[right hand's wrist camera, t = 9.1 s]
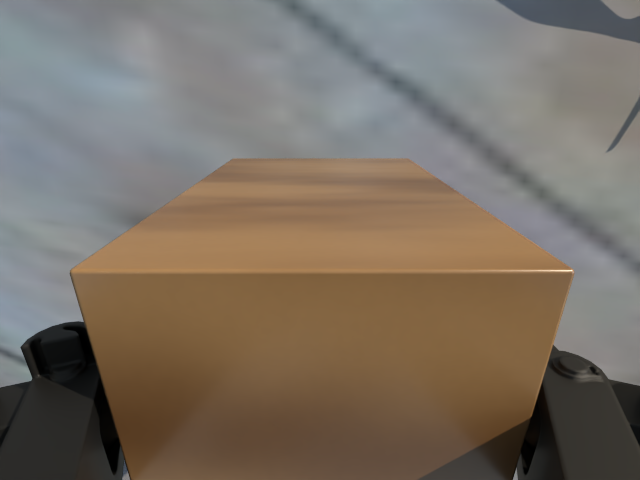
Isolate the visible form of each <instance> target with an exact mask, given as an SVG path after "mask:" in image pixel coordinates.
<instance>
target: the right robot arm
mask: <svg viewBox="0 0 640 480" xmlns="http://www.w3.org/2000/svg"><path fill="white" fill-rule="evenodd" d="M21 350H22V352H23V355H24V357H25V360H26V363H27V365H28V368H29V370H30V373H31V376H32V381H29V382H24V383H20V384H15V385H10V386H5V387H1V388H0V480H122V476H123V466H124V456H123V453H122V449H121V446H120V443H119V439H118V436H117V432H116V429H115V426H114V422H113V419H112V415H111V412H110V409H109V405H108V402H107V398H106V395H105V392H104V388H103V385H102V381H101V378H100V375H99V371H98V368H97V364H96V361H95V358H94V354H93V351H92V347H91V344H90V341H89V337H88V334H87V330H86V327H85V324H84V322H68V323H63V324H59V325H55V326H52V327H50V328H47V329H45V330H43V331H40V332H38V333H37V334H35V335H34V336H32V337H31V338H29V339H28V340H27V341H26V342H25V343H24V344H23V345H22V346H21ZM517 474H518V480H640V386H637V385H633V384H628V383H623V382H618V381H614V380H609V379H608V378H607V377H606V375H605V374H604V373H603V371H602V370H601V369H600V368H598V367H597V366H596V365H594V364H593V363H592V362H590V361H588V360H586V359H584V358H582V357H580V356H578V355H575V354H572V353H569V352H565V351H559V350H558V349H557V348H556V347H555V346H554V345H553V346H552V350H551V353H550V356H549V360H548V363H547V367H546V370H545V373H544V377H543V380H542V383H541V387H540V390H539V393H538V397H537V400H536V403H535V407H534V410H533V413H532V417H531V420H530V423H529V427H528V430H527V433H526V437H525V440H524V443H523V447H522V450H521V454H520V457H519V460H518V464H517Z"/></svg>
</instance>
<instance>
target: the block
mask: <svg viewBox="0 0 640 480" xmlns="http://www.w3.org/2000/svg"><path fill="white" fill-rule="evenodd" d="M70 276H71V279H72V283H73V286H74V290H75V293H76V296H77V300H78V303H79V307H80V310H81V313H82V317H83V320H84V324H85V327H86V330H87V334H88V337H89V341H90V344H91V347H92V351H93V354H94V358H95V361H96V364H97V368H98V371H99V375H100V378H101V381H102V385H103V388H104V392H105V395H106V398H107V402H108V405H109V409H110V412H111V415H112V419H113V422H114V426H115V429H116V432H117V436H118V439H119V443H120V446H121V449H122V453H123V456H124V460H125V463H126V466H127V470H128V473H129V477H130V480H513V477H514V474H515V470H516V467H517V464H518V460H519V457H520V454H521V450H522V447H523V443H524V440H525V437H526V433H527V430H528V427H529V423H530V420H531V417H532V413H533V410H534V407H535V403H536V400H537V397H538V393H539V390H540V387H541V383H542V380H543V377H544V373H545V370H546V367H547V363H548V360H549V356H550V353H551V350H552V346H553V343H554V340H555V336H556V333H557V330H558V326H559V323H560V320H561V316H562V313H563V310H564V306H565V303H566V300H567V296H568V293H569V290H570V286H571V283H572V280H573V276H574V270H573V269H572V268H570V267H569V266H567V265H566V264H564V263H563V262H561V261H560V260H558V259H557V258H555V257H554V256H552V255H551V254H550V253H548V252H547V251H545V250H544V249H542V248H541V247H539V246H538V245H536V244H535V243H533V242H532V241H530V240H529V239H527V238H526V237H524V236H523V235H521V234H520V233H518V232H517V231H515V230H514V229H512V228H511V227H509V226H508V225H506V224H505V223H503V222H502V221H500V220H499V219H497V218H496V217H494V216H493V215H491V214H490V213H489V212H487V211H486V210H484V209H483V208H481V207H480V206H478V205H477V204H475V203H474V202H472V201H471V200H469V199H468V198H466V197H465V196H463V195H462V194H460V193H459V192H457V191H456V190H454V189H453V188H451V187H450V186H448V185H447V184H445V183H444V182H442V181H441V180H439V179H438V178H436V177H435V176H433V175H432V174H431V173H429V172H428V171H426V170H425V169H423V168H422V167H420V166H419V165H417V164H416V163H414V162H413V161H411V160H410V159H232V160H230V161H229V162H227V163H226V164H224V165H223V166H221V167H220V168H219V169H217V170H216V171H214V172H213V173H211V174H210V175H208V176H207V177H205V178H204V179H202V180H201V181H200V182H198V183H197V184H195V185H194V186H192V187H191V188H189V189H188V190H186V191H185V192H183V193H182V194H180V195H179V196H178V197H176V198H175V199H173V200H172V201H170V202H169V203H167V204H166V205H164V206H163V207H161V208H160V209H159V210H157V211H156V212H154V213H153V214H151V215H150V216H148V217H147V218H145V219H144V220H142V221H141V222H140V223H138V224H137V225H135V226H134V227H132V228H131V229H129V230H128V231H126V232H125V233H123V234H122V235H121V236H119V237H118V238H116V239H115V240H113V241H112V242H110V243H109V244H107V245H106V246H104V247H103V248H101V249H100V250H99V251H97V252H96V253H94V254H93V255H91V256H90V257H88V258H87V259H85V260H84V261H82V262H81V263H80V264H78V265H77V266H75V267H74V268H72V269H71V270H70Z"/></svg>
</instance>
